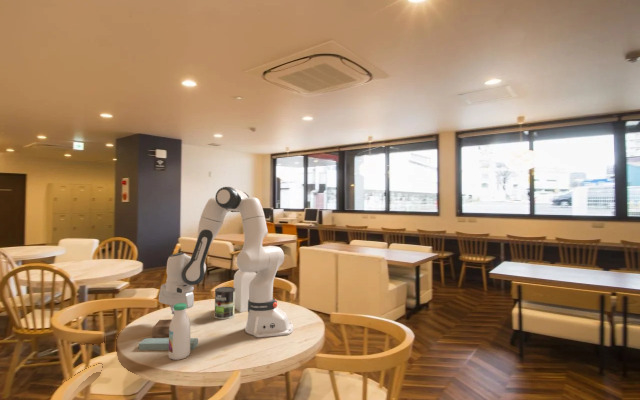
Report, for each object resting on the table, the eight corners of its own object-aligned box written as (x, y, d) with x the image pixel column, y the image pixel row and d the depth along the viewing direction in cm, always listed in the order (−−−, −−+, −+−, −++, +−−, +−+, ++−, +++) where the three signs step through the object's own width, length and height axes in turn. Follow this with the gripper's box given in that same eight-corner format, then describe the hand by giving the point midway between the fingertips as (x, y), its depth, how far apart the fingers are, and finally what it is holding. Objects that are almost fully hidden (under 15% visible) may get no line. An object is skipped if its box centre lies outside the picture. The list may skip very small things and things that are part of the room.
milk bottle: (193, 351, 130) (193, 301, 130) (185, 360, 122) (186, 307, 122) (173, 351, 129) (174, 301, 129) (165, 360, 122) (165, 307, 122)
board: (197, 345, 136) (198, 338, 136) (193, 350, 131) (193, 343, 131) (145, 345, 135) (145, 338, 135) (138, 351, 130) (138, 343, 130)
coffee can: (227, 320, 163) (227, 292, 163) (210, 317, 166) (210, 290, 167) (238, 313, 173) (238, 287, 173) (222, 311, 176) (222, 285, 176)
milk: (259, 308, 182) (260, 262, 182) (240, 312, 175) (241, 264, 175) (250, 303, 192) (251, 259, 192) (232, 306, 185) (232, 261, 185)
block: (179, 329, 152) (180, 318, 152) (174, 337, 143) (174, 326, 143) (159, 330, 150) (159, 319, 150) (152, 338, 141) (152, 327, 141)
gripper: (155, 284, 159) (154, 312, 159) (186, 290, 150) (185, 320, 150) (166, 281, 164) (165, 308, 164) (196, 287, 156) (195, 315, 156)
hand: (175, 314), depth 157 cm, fingers closed
